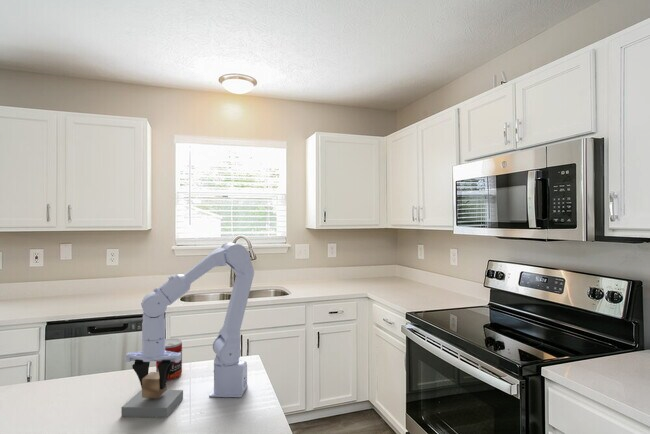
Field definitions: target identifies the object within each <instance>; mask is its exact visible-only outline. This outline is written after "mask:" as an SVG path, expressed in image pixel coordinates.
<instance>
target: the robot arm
mask: <svg viewBox="0 0 650 434" xmlns="http://www.w3.org/2000/svg"><path fill="white" fill-rule="evenodd" d="M227 265H228V266H229V267H230V268H231V270H232V271H233V273H234V274H235V278H234V279H235V280H234V283H233V286H232V290H231V294H230V299H229V301H228V306H227V310H226V314H225V317H224V321H223V326H222V327H221V328H220V329H219V332H218V335H217V336H216V338H215V339H214V341H213V343H212V350H213V352H214V354H215V358H214V360H213V389H212V390H211V392H209V395H208V397H210V398H211V397H213V398H242V397H243V395H244V393H245V391H246V389H247V387H248V385H249V384H248V363H247V361H244V360H242V359H241V360H240V357H241V354H242V353H241V352H242V349H241V342H242V339H241V328H242V324H243V320H244V316H245V312H246V308H247V304H248V300H249V296H250V292H251V288H252V284H253V279H254V276H255V270H254V267H253V263H252V260H251V253H250V252H249V250H248V249H247V248H246V247H245V246H244V245H243V244H240V243H235V242H232V241H231V242H229V241H228V242H224V244H222V245H221V246H219V247H217V248H215V249H214V250H212V251H211V252H210V253H209V254H208V255H206V256H205V257H204V258H203V259H201V260H200V261H198V263H196V264H195V265H194V266H193V267H191V268H190V269H189V270H187V271H186V272H185V273H184V274H177V273H176V274H175V275H170V276H169V277H168V280H167V281H166V282H164V283H163V284H162V285H161V286H159V287H155V288H154V289H152V291H153V292H150V293H148V294H146V295H145V296H144V297H143V298H142V301H141V302H140V305H141V308H142V312H143V313H142V322H141V323H142V324H141V325H142V326H141V336H142V337H141V338H142V339H141V342H142V343H141V346H142V347H141V349H142V350H141V351H129V352H128V353H126V354H125V362H127V363H129V362H131V361H132V362H134V363H133V364H132V365H131V366H132V367H131V368H132V370H133V371H134V372H135V373H136V375H137V378H138V380H139V383H140V388H141V389H142V379H143V378H144V377H145V376H146V375H147V374H149V372H150V371H149V370H150V363H151V362H156V361H162V363H160V364H159V365H158V371H159V377H160V389H163V388H164V387H165V386H166V387H167V382H168V380H167V378H168V375H169V372H170V370H171V367H172V365H173V363H174V361H175V362H177V363H178V362H180V361H181V353H176V352H170V351H165V339H166V319H165V313H166V311H167V308H168V306H170V305H172V304H173V303H175V302H176V301H177V300H179V299H180V298H181V297H183V296H184V295H185V294H186V293H188V292H190V289H191V286H192V283H194V282H195V281H197V280H198V279H199V278H202V277H203V276H204V275H205V274H206V273H208V272H209V271H211V270H212V269H214V268H215V267H216V268H217V267H227Z"/></svg>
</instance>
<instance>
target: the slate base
mask: <svg viewBox="0 0 650 434" xmlns="http://www.w3.org/2000/svg"><path fill="white" fill-rule="evenodd" d="M183 399H184V389H166V391H165V392H164V393H163V394H162V395H161V396H160V397H159V398H142V389H140V390H139V391H138V392H137V393H136V394H135V395H134V396H132V398H130V399H129V400H128V401H127V402H125V403H124V404H123V405H122V406H121V417H124V418H132V417H133V418H161V419H162V418H163V419H165V418H166V419H167V418H168V417H169V416H170V415H171V413H173V412H174V410H175V409H176V408H177V406H179V405H180V403H181V402H182V401H183Z"/></svg>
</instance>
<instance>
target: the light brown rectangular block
mask: <svg viewBox="0 0 650 434" xmlns="http://www.w3.org/2000/svg"><path fill="white" fill-rule="evenodd" d="M141 390H142V398H159V397H160V396H161V395H162V394H163V393H164V392H165V391H166V390H167V385H166V386H165V387H164V388H163V389H160V377H159V372H156V371H149V372H148V374H147V375H146V376H145V377H144V378H143V379H142V388H141Z"/></svg>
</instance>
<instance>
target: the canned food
mask: <svg viewBox="0 0 650 434" xmlns="http://www.w3.org/2000/svg"><path fill="white" fill-rule="evenodd" d="M165 351H170V352H176V353H181V361H180V362H178V363H177V362H175V361H174V363H173V365H172V367H171V370H170V372H169V375H168V378H167V381H171V380H176V379H177V378H179V377H181V376H182V374H183V373H182V372H183V340H182V339H179V338H165ZM160 363H162V361H155V365H156V366H155V368H156V370H155V372H159V371H158V365H159V364H160Z"/></svg>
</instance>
